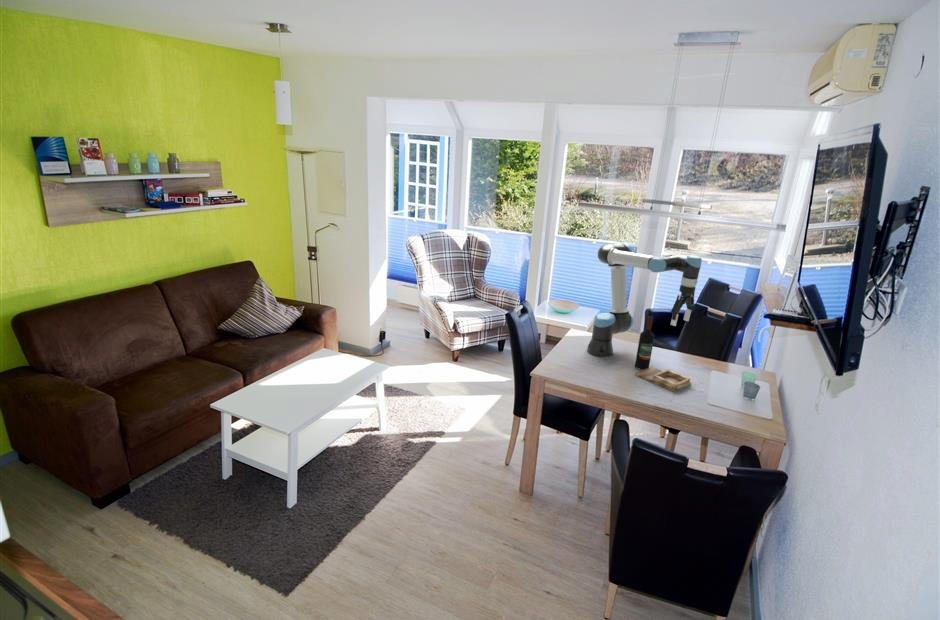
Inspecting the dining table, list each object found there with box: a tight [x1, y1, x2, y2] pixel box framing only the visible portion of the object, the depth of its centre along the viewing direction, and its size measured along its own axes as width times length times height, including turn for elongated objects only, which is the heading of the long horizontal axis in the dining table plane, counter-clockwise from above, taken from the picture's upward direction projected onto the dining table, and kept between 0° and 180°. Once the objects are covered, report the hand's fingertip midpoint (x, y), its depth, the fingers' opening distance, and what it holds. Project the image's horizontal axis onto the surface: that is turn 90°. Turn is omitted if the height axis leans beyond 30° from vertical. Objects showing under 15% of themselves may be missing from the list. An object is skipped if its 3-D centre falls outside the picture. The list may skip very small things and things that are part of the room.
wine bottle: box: [634, 315, 655, 370], centre depth 282 cm, size 8×8×30 cm
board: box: [634, 366, 692, 393], centre depth 272 cm, size 24×16×4 cm, turn 39°
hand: (679, 322), depth 272 cm, fingers open, 13 cm apart
